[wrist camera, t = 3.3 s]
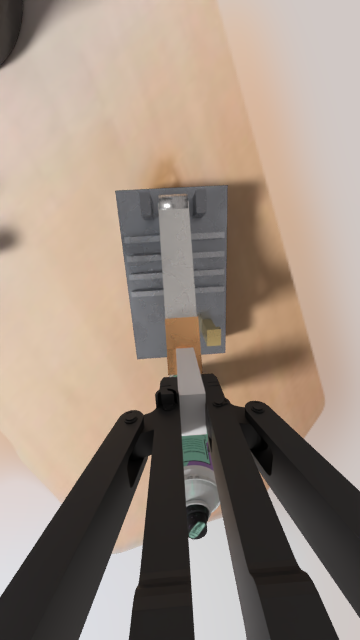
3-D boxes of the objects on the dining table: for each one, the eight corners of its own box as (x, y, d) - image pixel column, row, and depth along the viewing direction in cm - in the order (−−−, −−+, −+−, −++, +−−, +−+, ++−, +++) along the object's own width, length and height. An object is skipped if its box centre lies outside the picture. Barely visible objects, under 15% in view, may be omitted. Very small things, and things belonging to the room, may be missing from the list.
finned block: (124, 201, 27) (104, 178, 19) (217, 196, 27) (238, 172, 19) (141, 343, 33) (132, 374, 25) (217, 338, 34) (233, 367, 25)
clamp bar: (158, 202, 22) (156, 185, 19) (187, 201, 22) (188, 183, 20) (169, 369, 21) (168, 375, 18) (199, 367, 21) (202, 372, 19)
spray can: (164, 396, 36) (159, 553, 17) (168, 368, 35) (165, 509, 16) (196, 398, 37) (223, 554, 18) (200, 371, 35) (236, 511, 16)
